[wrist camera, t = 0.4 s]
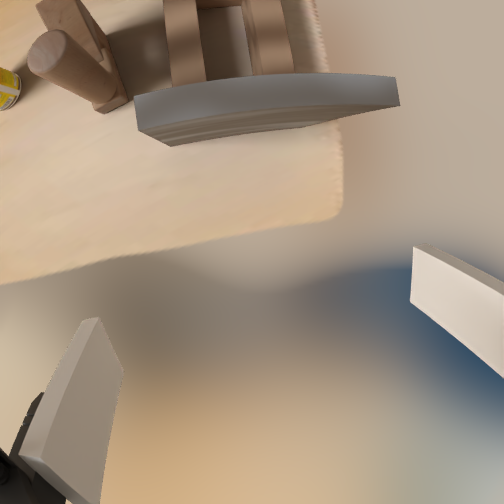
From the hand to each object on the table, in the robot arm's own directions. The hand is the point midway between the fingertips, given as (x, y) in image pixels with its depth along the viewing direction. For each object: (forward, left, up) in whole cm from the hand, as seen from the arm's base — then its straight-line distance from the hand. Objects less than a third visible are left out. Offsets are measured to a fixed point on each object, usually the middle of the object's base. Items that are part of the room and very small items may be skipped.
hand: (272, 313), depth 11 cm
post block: (-20, +3, -27) cm, 33 cm away
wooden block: (-20, -12, -27) cm, 35 cm away
